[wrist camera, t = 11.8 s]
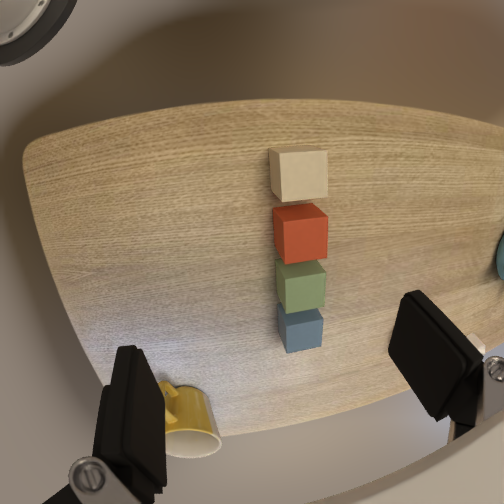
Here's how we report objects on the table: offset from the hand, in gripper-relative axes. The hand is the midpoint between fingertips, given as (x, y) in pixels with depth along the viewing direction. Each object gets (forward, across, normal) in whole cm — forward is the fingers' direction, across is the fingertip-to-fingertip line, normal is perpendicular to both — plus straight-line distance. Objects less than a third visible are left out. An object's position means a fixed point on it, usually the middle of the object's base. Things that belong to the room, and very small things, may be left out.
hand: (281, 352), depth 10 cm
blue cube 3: (+26, -8, +21) cm, 34 cm away
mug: (+26, +11, +34) cm, 44 cm away
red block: (+26, -8, +7) cm, 28 cm away
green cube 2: (+26, -8, +14) cm, 30 cm away
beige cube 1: (+26, -8, 0) cm, 27 cm away
